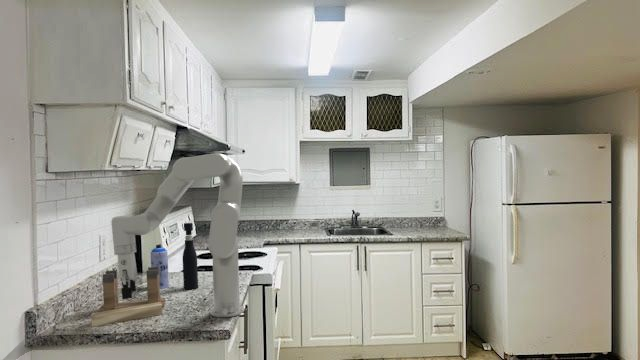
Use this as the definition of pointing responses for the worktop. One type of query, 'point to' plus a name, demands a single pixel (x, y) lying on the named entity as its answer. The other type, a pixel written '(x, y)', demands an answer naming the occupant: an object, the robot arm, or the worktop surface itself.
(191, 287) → the black tall bottle
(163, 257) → the aerosol can
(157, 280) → the walnut rack
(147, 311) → the maple bar
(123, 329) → the worktop surface
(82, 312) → the worktop surface
